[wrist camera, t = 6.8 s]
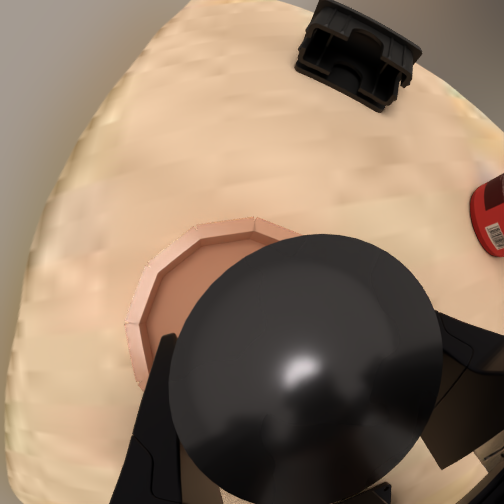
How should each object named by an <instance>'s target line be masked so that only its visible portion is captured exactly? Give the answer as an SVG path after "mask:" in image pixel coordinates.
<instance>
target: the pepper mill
mask: <svg viewBox="0 0 504 504" xmlns="http://www.w3.org/2000/svg"><path fill="white" fill-rule="evenodd" d="M442 368H443V347H442V338H441V332H440V327H439V323H438V320H437V317H436V313H435V311H434V308H433V306H432V304H431V301H430V299H429V297H428V296H427V294H426V292H425V291H424V289H423V287H422V286H421V284H420V283H419V282H418V280H417V279H416V278H415V276H414V275H413V274H412V273H411V272H410V271H409V270H408V269H407V268H406V267H405V266H404V265H403V264H402V263H401V262H400V261H398V260H397V259H396V258H394V257H393V256H392V255H390V254H389V253H388V252H386V251H384V250H382V249H380V248H378V247H376V246H375V245H373V244H370V243H367V242H364V241H362V240H359V239H356V238H351V237H346V236H341V235H330V234H314V235H302V236H297V237H293V238H288V239H284V240H281V241H278V242H275V243H273V244H270V245H267V246H264V247H262V248H260V249H259V250H257V251H255V252H253V253H251V254H249V255H247V256H245V257H244V258H242V259H241V260H240V261H238V262H237V263H235V264H234V265H233V266H231V267H230V268H228V269H227V270H226V271H225V272H224V273H223V274H222V275H221V276H220V277H219V278H218V279H216V280H215V281H214V282H213V283H212V284H211V285H210V286H209V288H208V289H207V290H206V291H205V293H204V294H203V295H202V296H201V297H200V299H199V300H198V301H197V303H196V304H195V306H194V308H193V309H192V311H191V312H190V314H189V316H188V317H187V319H186V321H185V323H184V325H183V327H182V330H181V332H180V334H179V337H178V339H177V342H176V345H175V349H174V352H173V356H172V360H171V366H170V374H169V404H170V409H171V414H172V419H173V423H174V426H175V429H176V432H177V434H178V437H179V440H180V442H181V443H182V445H183V447H184V449H185V451H186V452H187V454H188V456H189V457H190V458H191V460H192V461H193V462H194V464H195V465H196V466H197V467H198V469H199V470H200V471H201V472H202V473H203V474H204V475H205V476H207V477H208V478H209V479H210V480H211V481H212V482H213V483H215V484H216V485H218V486H219V487H220V488H222V489H223V490H225V491H226V492H228V493H230V494H232V495H234V496H236V497H238V498H240V499H243V500H245V501H248V502H251V503H255V504H330V503H334V502H337V501H340V500H343V499H345V498H348V497H350V496H352V495H354V494H356V493H359V492H361V491H362V490H364V489H366V488H367V487H369V486H371V485H372V484H374V483H375V482H377V481H378V480H379V479H381V478H382V477H383V476H385V475H386V474H387V473H389V472H390V471H391V470H392V469H393V468H394V467H395V466H396V465H397V464H398V463H399V462H400V461H401V460H402V459H403V458H404V457H405V456H406V454H407V453H408V452H409V451H410V450H411V448H412V447H413V446H414V444H415V443H416V441H417V440H418V438H419V437H420V435H421V434H422V432H423V430H424V428H425V426H426V425H427V423H428V421H429V418H430V416H431V414H432V411H433V409H434V406H435V403H436V400H437V396H438V393H439V389H440V383H441V378H442Z"/></svg>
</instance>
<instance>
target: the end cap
mask: <svg viewBox="0 0 504 504" xmlns="http://www.w3.org/2000/svg"><path fill="white" fill-rule="evenodd" d="M305 31H306V35H305V37H304V40H303V42H302V44H301V45H300V47H299V48H298V51H299V55H298V60H297V62H296V64H295V70H296V71H297V72H299V73H301V74H304V75H306V76H308V77H310V78H313V79H315V80H317V81H319V82H321V83H323V84H325V85H327V86H329V87H331V88H333V89H335V90H337V91H339V92H341V93H343V94H345V95H347V96H349V97H351V98H353V99H355V100H356V101H358V102H360V103H362V104H364V105H365V106H367V107H369V108H371V109H372V110H374V111H376V112H378V113H381V112H382V111H383V110H384V108H385V106H388V105H390V104H391V103H392V102H393V101H396V100H397V95H398V87H399V82H400V81H401V85H400V86H402V87H403V88H405V87H406V86H409V85H410V81H411V80H412V71H413V65H414V64H415V62H416V61H417V60H418V59H419V57H420V56H421V55H422V50H421V48H420V47H419V46H417V45H416V44H414V43H413V42H411V41H410V40H408V39H406V38H405V37H403V36H401V35H400V34H398V33H396V32H395V31H393V30H392V29H390V28H388V27H386V26H385V25H383V24H381V23H379V22H377V21H375V20H373V19H372V18H370V17H368V16H366V15H364V14H362V13H360V12H358V11H356V10H354V9H352V8H349V7H347V6H345V5H343V4H341V3H338V2H336V1H334V0H319V2H318V5H317V7H316V10H315V12H314V15H313V17H312V20H311V22H310V24H309V25H308V27H307V28H306V30H305Z"/></svg>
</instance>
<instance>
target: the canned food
mask: <svg viewBox="0 0 504 504" xmlns="http://www.w3.org/2000/svg"><path fill="white" fill-rule="evenodd" d="M470 213H471V219H472V224H473V227H474V230H475V233H476V235H477V238H478V239H479V241H480V243H481V245H482V246H483V247H484V249H485V250H486V251H487V252H488V253H489V254H491V255H493V256H498V257H504V173H503V174H501V175H500V176H498V177H496V178H494V179H492V180H490V181H489V182H487V183H485V184H483V185H481V186H480V187H478V188H477V190H476V191H475V192H474V193H473V195H472V198H471V202H470Z"/></svg>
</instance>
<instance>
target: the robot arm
mask: <svg viewBox="0 0 504 504" xmlns="http://www.w3.org/2000/svg"><path fill="white" fill-rule="evenodd" d="M434 311H435V313H436V317H437V320H438V323H439V327H440V332H441V338H442V347H443V368H442V378H441V383H440V389H439V393H438V396H437V400H436V403H435V406H434V409H433V411H432V414H431V416H430V418H429V421H428V423H427V425H426V426H425V428H424V430H423V432H422V434H421V435H420V436H421V438H422V440H423V441H424V443H425V444H426V446H427V448H428V449H429V451H430V452H431V454H432V456H433V457H434V459H435V461H436V462H437V464H438V466H439V467H440V469H441V470H443V469H444V468H446V467H448V466H450V465H452V464H453V463H455V462H457V461H458V460H460V459H462V458H463V457H465V456H467V455H468V454H470V453H471V452H474V453H475V455H476V456H477V457H478V459H479V460H480V462H481V463H482V465H483V466H484V467H485V468H486V470H487V471H488V474H487V475H486V476H485V477H484V478H483V479H482V480H481V481H480V482H479V483H478V484H477V485H476V486H475V487H474V488H473V489H472V490H471V491H470V492H469V493H467V494H466V495H465V496H464V497H463V498H462V499H461V500H460V501H458V502H457V503H456V504H504V335H500V334H497V333H494V332H491V331H488V330H485V329H482V328H479V327H476V326H473V325H471V324H468V323H465V322H462V321H460V320H457V319H455V318H453V317H450V316H448V315H445V314H443V313H441V312H438V311H436V310H434ZM177 339H178V338H177V336H176V334H175V333H169V334H166V335H163V336H162V337H161V339H160V342H159V345H158V348H157V351H156V354H155V357H154V361H153V364H152V367H151V370H150V373H149V377H148V380H147V383H146V387H145V390H144V393H143V397H142V400H141V404H140V407H139V411H138V414H137V418H136V422H135V425H134V429H133V433H132V434H133V435H132V436H131V440H130V444H129V447H128V451H127V454H126V458H125V461H124V464H123V467H122V470H121V473H120V476H119V479H118V481H117V484H116V487H115V489H114V492H113V495H112V497H111V500H110V503H109V504H224V503H223V500H222V496H221V493H220V489H219V486H218V485H216V484H215V483H213V482H212V481H211V480H210V479H209V478H208V477H207V476H205V475H204V474H203V473H202V472H201V471H200V470H199V469H198V467H197V466H196V465H195V464H194V462H193V461H192V460H191V458H190V457H189V456H188V454H187V452H186V451H185V449H184V447H183V445H182V443H181V442H180V440H179V437H178V434H177V432H176V429H175V426H174V423H173V419H172V414H171V409H170V404H169V374H170V366H171V360H172V356H173V352H174V349H175V345H176V342H177ZM384 488H385V489H384ZM337 504H391V485H390V484H389V483H387V482H386V483H383V484H381V485H379V486H377V487H375V488H373V489H371V490H368V491H366V492H364V493H362V494H359V495H357V496H355V497H352V498H350V499H347V500H345V501H342V502H340V503H337Z"/></svg>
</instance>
